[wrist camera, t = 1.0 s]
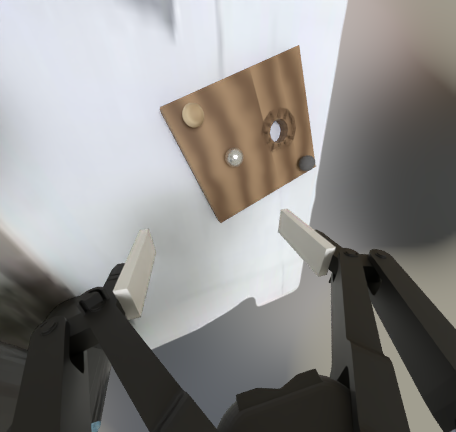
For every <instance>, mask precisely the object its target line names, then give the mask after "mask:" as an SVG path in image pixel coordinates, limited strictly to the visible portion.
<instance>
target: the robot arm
mask: <svg viewBox="0 0 456 432" xmlns="http://www.w3.org/2000/svg"><path fill="white" fill-rule="evenodd" d="M278 232H279V233H280V234H281V236H282V237H283V238H284V239H285V240H286V241H287V242H288V243H289V245H290V246H291V247H292V248H293V249H294V250H295V251H296V252H297V254H298V255H299V256H300V257H301V258H302V259H303V260H304V261H305V262H306V264H308V266H309V267H310V268H311V269H312V270H313V271H314V273H315V274H316V275H317V276H318V277H319V276H323V275H327V272H328V269H329V270H330V271H331V272H332V274H331V278H330V280H329V283H331V321H332V323H331V326H332V327H331V328H332V368H331V373H330V377H327V376H323V375H319V374H318V373H317V371H316V369H312V370H309V371H306V372H303V373H300V374H298V375H296V376H295V377H294V378H292V379H291V380H290V381H289V382H288V383H287V384H285V385H284V386H283V387H282V388H280V389H269V388H255V389H252V390H249V391H247V392H243V393H241V394H237V395H236V402H235V403H234V404H232V406H231V407H230V408H229V409H228V410H227V411H226V413H225V414H224V415H223V417H222V419H221V421H220V423H219V425H218V427H217V429H216V428H215V426H214V425H213V424H212V423H211V422H210V420H209V419H208V418H207V417H206V415H205V414H204V413H203V412H202V410H201V409H200V408H199V407H198V405H197V404H196V403H195V402H194V400H193V399H192V398H191V397H190V396H189V394H188V393H187V392H185V391H184V390H183V389H182V388H181V387H180V386H179V384H178V383H177V382H176V381H175V379H174V378H173V377H172V376H171V374H170V373H169V372H168V371H167V369H166V368H165V367H164V366H163V364H162V363H161V362H160V361H159V359H158V358H157V357H156V356H155V354H154V353H153V352H152V350H151V349H150V348H149V347H148V345H147V344H146V343H145V342H144V340H143V339H142V338H141V337H140V335H139V334H138V333H137V332H136V330H135V329H134V328H133V327H132V325H131V324H130V323H129V320H130V319H134V318H139V317H141V314H142V310H143V306H144V301H145V297H146V293H147V289H148V284H149V280H150V276H151V272H152V267H153V263H154V259H155V255H156V250H155V247H154V244H153V241H152V238H151V234H150V231H149V229H143V230H140V231H139V233H138V235H137V238H136V240H135V242H134V244H133V247H132V249H131V251H130V253H129V256H128V258H127V260H126V262H125V263H122V264H117V265H116V266H115V267H114V268H113V269H112V271H111V273H110V275H109V277H108V279H107V281H106V282H105V284H104V286H103V287H96V288H92V289H90V290H88V291H86V292H85V293H84V294H82V295H81V296H79V297H75V298H72V299H70V300H67V301H65V302H63V303H62V304H60V305H59V306H57V307H56V308H55V309H54V310H53V311H52V312H51V313H50V314H49V316H48V317H47V319H46V320H45V322H43V323H42V324H41V325H40V326H38V327H37V328H36V330H35V331H34V332H33V334H32V336H31V339H30V343H29V348H28V350H26V349H23V348H20V347H17V346H13V345H10V344H7V343H4V342H1V341H0V432H98V429H99V428H100V425H101V417H102V412H103V406H104V401H105V396H106V390H107V385H108V380H109V375H110V370H111V365H112V366H113V368H114V370H115V372H116V374H117V375H118V377H119V379H120V381H121V382H122V384H123V386H124V388H125V389H126V391H127V393H128V395H129V397H130V398H131V400H132V402H133V404H134V405H135V407H136V409H137V411H138V412H139V414H140V416H141V418H142V419H143V421H144V423H145V425H146V426H147V428H148V430H149V431H150V432H410V429H409V425H408V421H407V417H406V413H405V410H404V406H403V402H402V399H401V394H400V390H399V387H398V383H397V379H396V375H395V371H394V367H393V364H392V362H391V360H390V358H389V357H387V356H385V355H384V354H383V351H382V347H381V343H380V339H379V334H378V330H377V326H376V321H375V317H374V313H373V308H372V304H373V306H374V308H375V310H376V312H377V314H378V316H379V318H380V319H381V321H382V323H383V325H384V327H385V329H386V331H387V332H388V334H389V336H390V338H391V340H392V342H393V344H394V346H395V347H396V349H397V351H398V353H399V355H400V357H401V359H402V360H403V362H404V364H405V366H406V368H407V370H408V372H409V374H410V375H411V377H412V379H413V381H414V383H415V385H416V387H417V389H418V390H419V392H420V394H421V396H422V398H423V400H424V401H425V403H426V405H427V406H428V408H429V410H430V412H431V413H432V415H433V417H434V418H435V420H436V421H437V423H438V424H439V426H440V427H441V429H442V430H443V432H456V329H455V328H454V327H453V326H452V325H451V324H450V322H449V321H448V320H447V319H446V318H445V317H444V316H443V314H442V313H441V312H440V311H439V310H438V309H437V307H436V306H435V305H434V304H433V303H432V302H431V301H430V299H429V298H428V297H427V296H426V295H425V294H424V293H423V291H422V290H421V289H420V288H419V287H418V286H417V285H416V283H415V282H414V281H413V280H412V279H411V278H410V276H408V274H407V273H406V272H405V271H404V270H403V269H402V267H401V266H400V265H399V264H398V263H397V262H396V260H394V258H393V257H392V256H391V255H390V254H388V253H386V252H385V251H382V250H377V249H372V250H370V252H369V254H368V255H366V254H359V253H357V252H356V251H354V250H352V249H349V248H342V247H341V246H339V245H338V244H337V243H335V242H334V241H333V240H331V239H330V238H329V237H328V236H326V235H325V234H324V233H322V232H320V231H318V230H313V229H312V228H311V227H310V226H308V225H307V224H306V223H305V222H303V221H302V220H301V219H299V218H298V217H297V216H296V215H294V214H293V213H292V212H291V211H289V210H288V209H283V210H281V212H280V220H279V229H278ZM371 303H372V304H371Z"/></svg>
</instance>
